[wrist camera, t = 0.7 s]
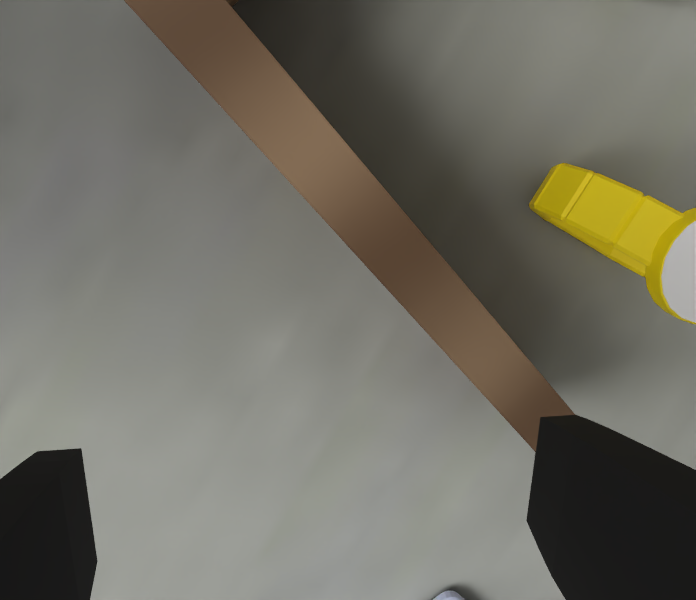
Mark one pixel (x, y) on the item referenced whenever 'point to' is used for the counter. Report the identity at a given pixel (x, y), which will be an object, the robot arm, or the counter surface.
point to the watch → (626, 231)
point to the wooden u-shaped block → (350, 200)
